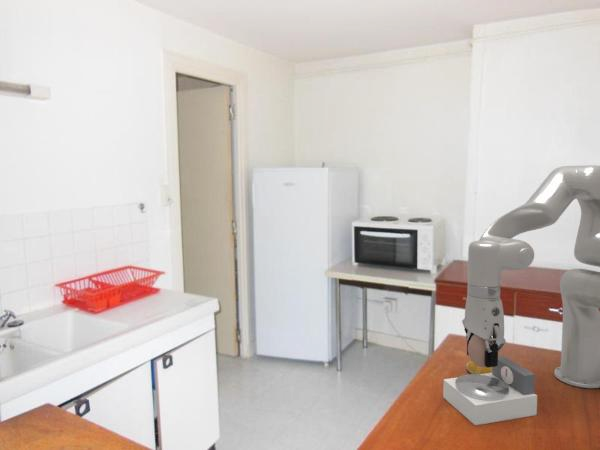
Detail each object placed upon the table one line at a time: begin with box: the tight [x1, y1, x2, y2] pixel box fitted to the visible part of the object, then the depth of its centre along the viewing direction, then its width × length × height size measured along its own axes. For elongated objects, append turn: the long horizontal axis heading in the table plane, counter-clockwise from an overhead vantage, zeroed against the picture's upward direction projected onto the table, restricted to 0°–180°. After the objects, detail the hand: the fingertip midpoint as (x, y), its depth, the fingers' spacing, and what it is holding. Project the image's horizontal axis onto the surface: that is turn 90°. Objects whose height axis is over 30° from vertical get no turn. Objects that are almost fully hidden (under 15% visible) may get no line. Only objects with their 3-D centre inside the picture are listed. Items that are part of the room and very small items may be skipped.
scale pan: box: [455, 373, 509, 401], centre depth 115 cm, size 13×13×1 cm
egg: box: [468, 334, 494, 367], centre depth 113 cm, size 7×7×9 cm
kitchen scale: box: [442, 355, 538, 426], centre depth 115 cm, size 17×14×10 cm
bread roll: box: [465, 360, 492, 374], centre depth 135 cm, size 8×9×4 cm
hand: (481, 359), depth 114 cm, fingers closed on egg, 6 cm apart
